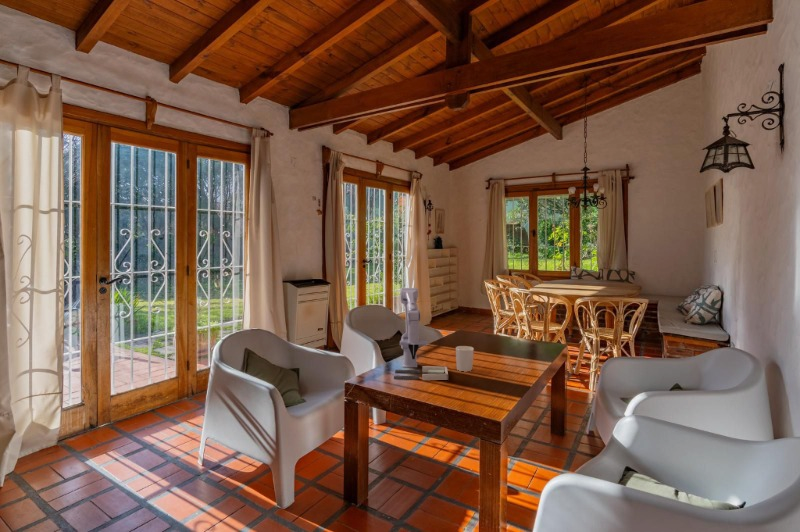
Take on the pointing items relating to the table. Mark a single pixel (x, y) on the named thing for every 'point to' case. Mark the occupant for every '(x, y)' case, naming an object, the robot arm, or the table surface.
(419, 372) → the channel
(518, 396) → the table surface
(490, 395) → the table surface
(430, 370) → the white small block
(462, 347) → the candle holder
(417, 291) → the robot arm
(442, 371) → the chip
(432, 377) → the white u-shaped bracket
